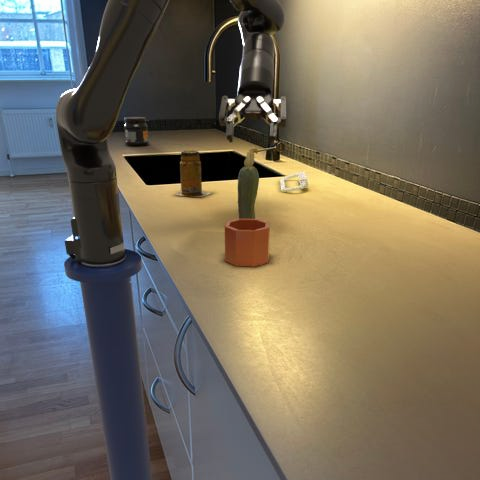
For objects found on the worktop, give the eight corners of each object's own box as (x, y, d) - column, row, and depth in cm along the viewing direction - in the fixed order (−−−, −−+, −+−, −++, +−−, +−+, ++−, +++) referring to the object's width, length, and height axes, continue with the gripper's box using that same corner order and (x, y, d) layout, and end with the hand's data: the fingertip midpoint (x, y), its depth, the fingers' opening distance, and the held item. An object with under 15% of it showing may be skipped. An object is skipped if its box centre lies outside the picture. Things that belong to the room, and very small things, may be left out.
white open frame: (281, 184, 169) (279, 173, 168) (305, 178, 168) (303, 166, 166) (282, 198, 152) (280, 186, 150) (309, 192, 150) (307, 179, 149)
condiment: (187, 190, 155) (185, 149, 150) (212, 193, 152) (211, 151, 146) (175, 195, 149) (172, 152, 144) (200, 198, 146) (199, 154, 140)
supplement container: (152, 144, 241) (150, 116, 236) (142, 147, 232) (140, 119, 227) (132, 143, 244) (130, 116, 239) (121, 146, 235) (119, 118, 230)
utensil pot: (223, 265, 98) (222, 230, 95) (229, 251, 106) (228, 217, 102) (267, 267, 97) (268, 231, 94) (269, 252, 105) (270, 219, 102)
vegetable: (235, 244, 109) (234, 147, 100) (240, 238, 113) (240, 144, 104) (255, 246, 108) (256, 148, 99) (260, 240, 112) (261, 144, 103)
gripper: (222, 64, 109) (214, 128, 104) (289, 64, 107) (285, 129, 102) (225, 90, 116) (219, 151, 111) (288, 91, 114) (284, 152, 109)
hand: (250, 140), depth 107 cm, fingers open, 8 cm apart
